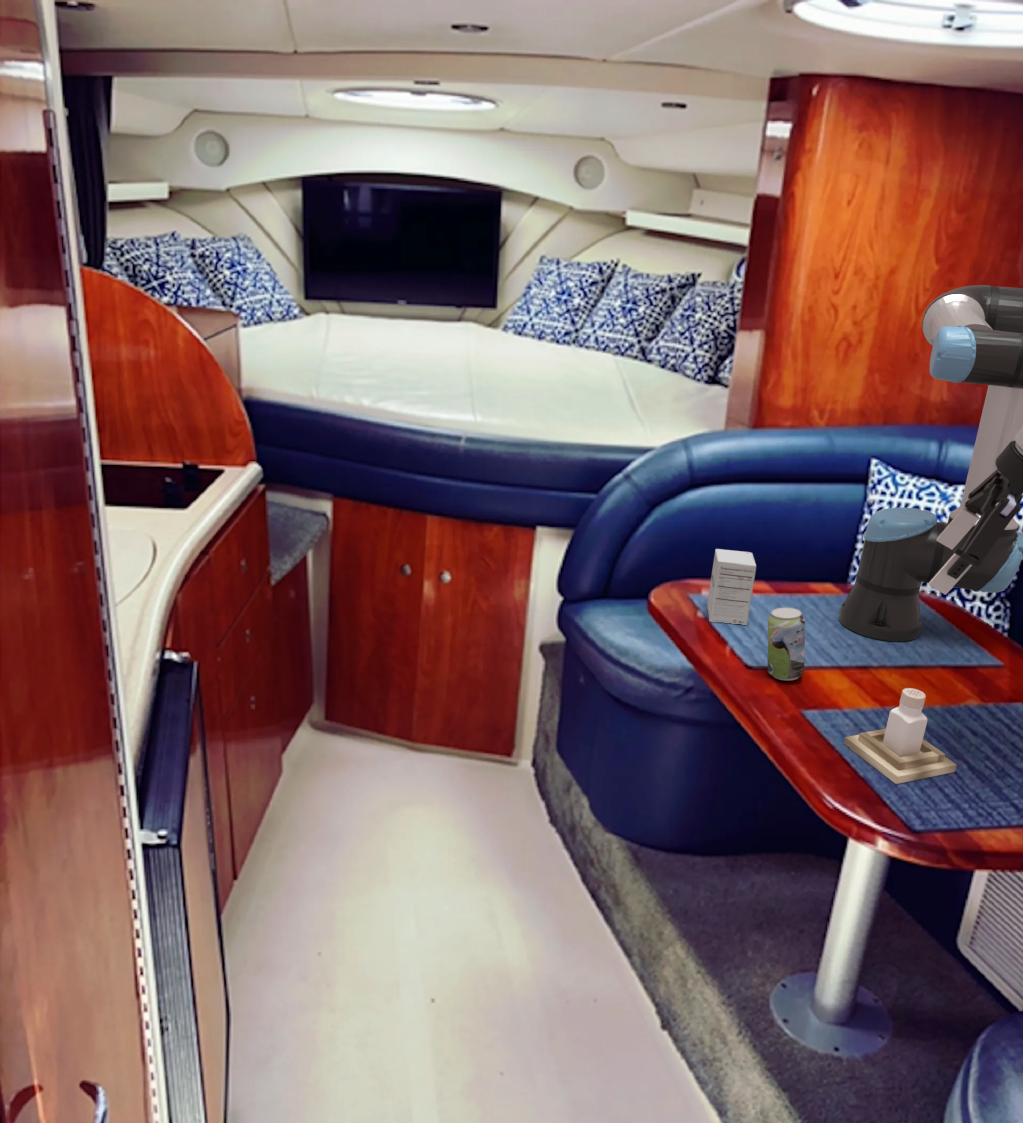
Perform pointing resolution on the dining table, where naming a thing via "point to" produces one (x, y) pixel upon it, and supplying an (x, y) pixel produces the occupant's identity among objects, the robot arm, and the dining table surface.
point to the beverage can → (786, 644)
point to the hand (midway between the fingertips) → (940, 565)
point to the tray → (899, 758)
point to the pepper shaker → (906, 724)
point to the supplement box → (731, 586)
